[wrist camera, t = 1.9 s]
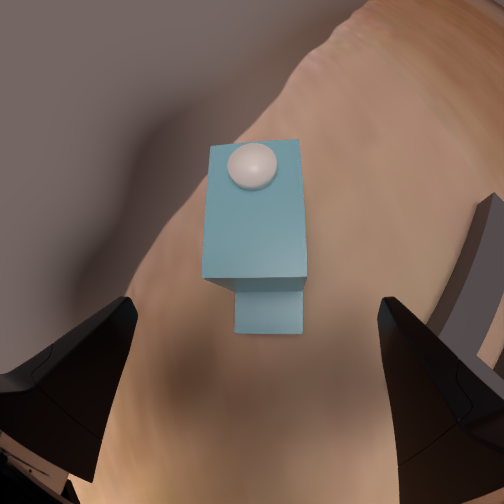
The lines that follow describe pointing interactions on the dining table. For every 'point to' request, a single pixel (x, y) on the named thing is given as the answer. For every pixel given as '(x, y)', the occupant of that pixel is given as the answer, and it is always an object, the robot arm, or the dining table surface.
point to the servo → (257, 233)
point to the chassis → (475, 293)
